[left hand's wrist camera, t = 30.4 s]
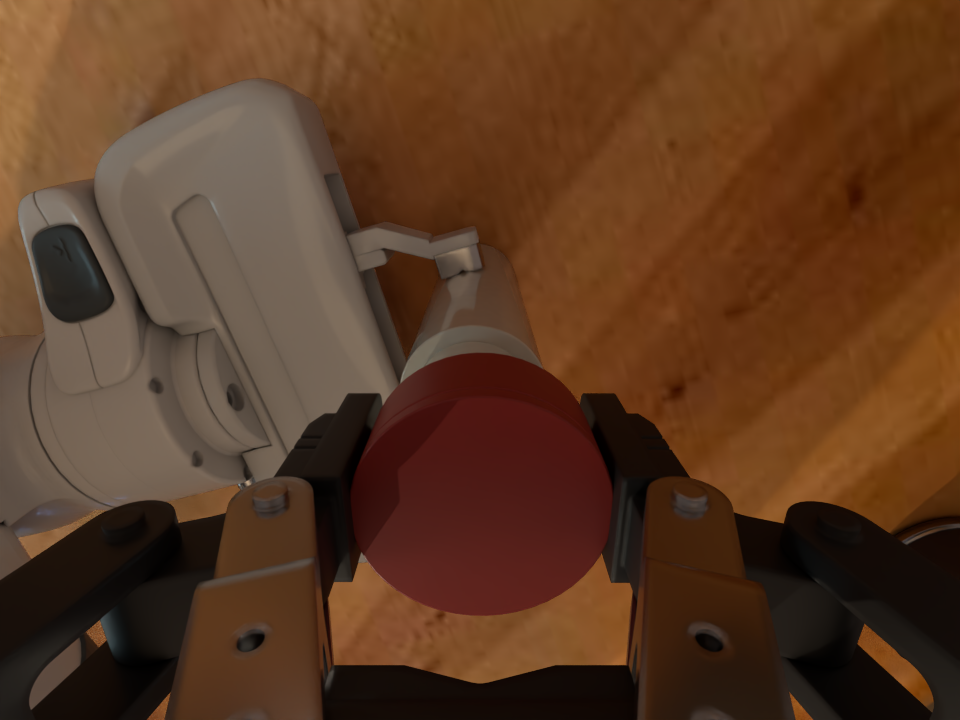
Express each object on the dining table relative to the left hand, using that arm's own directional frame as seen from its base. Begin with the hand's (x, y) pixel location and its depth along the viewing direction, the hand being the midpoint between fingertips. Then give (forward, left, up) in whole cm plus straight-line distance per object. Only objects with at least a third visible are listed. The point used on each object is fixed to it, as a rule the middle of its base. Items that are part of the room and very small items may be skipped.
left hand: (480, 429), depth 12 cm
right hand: (-1, 0, -10) cm, 10 cm away
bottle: (0, 0, -16) cm, 16 cm away
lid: (0, 0, +3) cm, 3 cm away
